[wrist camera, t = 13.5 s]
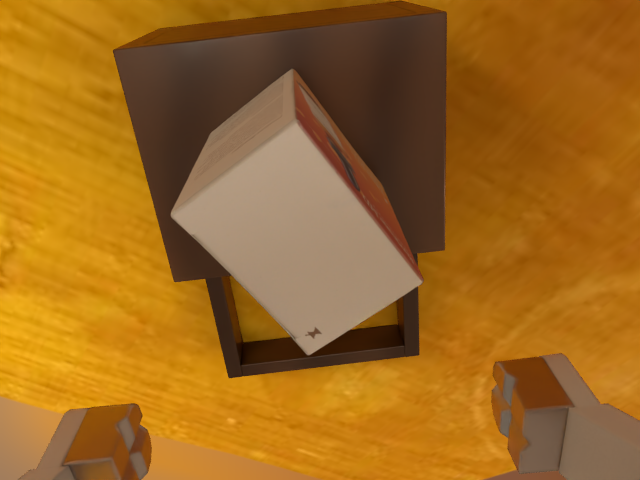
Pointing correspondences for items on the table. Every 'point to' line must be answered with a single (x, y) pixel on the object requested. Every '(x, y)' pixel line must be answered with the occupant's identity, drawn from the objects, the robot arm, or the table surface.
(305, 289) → the small box
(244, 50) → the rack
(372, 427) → the table surface
